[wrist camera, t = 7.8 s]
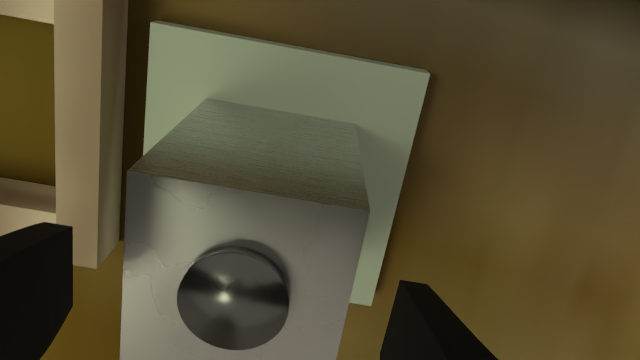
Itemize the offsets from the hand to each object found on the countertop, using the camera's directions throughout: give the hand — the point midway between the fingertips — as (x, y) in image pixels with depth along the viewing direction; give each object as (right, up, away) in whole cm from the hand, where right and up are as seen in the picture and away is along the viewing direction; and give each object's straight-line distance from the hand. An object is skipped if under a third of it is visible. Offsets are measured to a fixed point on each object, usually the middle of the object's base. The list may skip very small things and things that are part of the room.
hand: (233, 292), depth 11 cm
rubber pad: (0, +3, +7) cm, 8 cm away
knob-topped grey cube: (0, +2, +7) cm, 7 cm away
